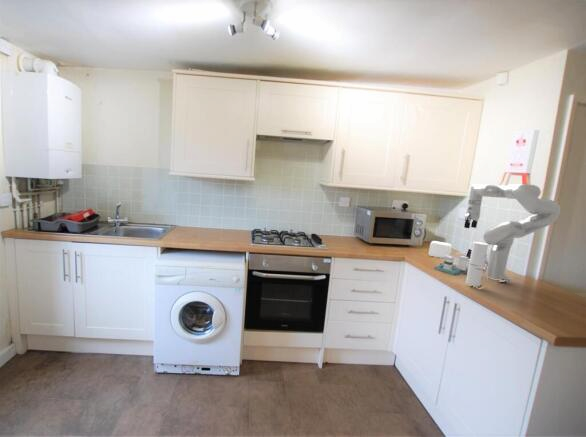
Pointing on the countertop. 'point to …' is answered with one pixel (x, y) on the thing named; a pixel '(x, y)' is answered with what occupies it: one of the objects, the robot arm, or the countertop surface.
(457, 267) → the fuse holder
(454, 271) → the parts tray
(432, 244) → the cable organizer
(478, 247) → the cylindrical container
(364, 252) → the countertop surface
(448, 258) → the fuse
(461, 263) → the fuse
